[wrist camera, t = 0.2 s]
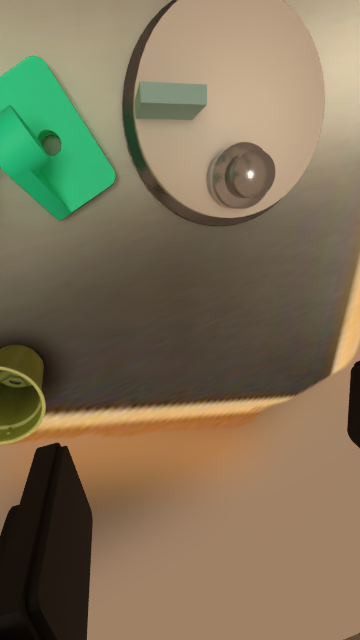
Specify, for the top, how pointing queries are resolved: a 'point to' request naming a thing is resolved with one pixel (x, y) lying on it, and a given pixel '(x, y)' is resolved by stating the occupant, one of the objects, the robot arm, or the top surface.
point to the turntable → (227, 96)
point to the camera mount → (33, 126)
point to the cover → (240, 176)
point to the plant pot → (20, 393)
